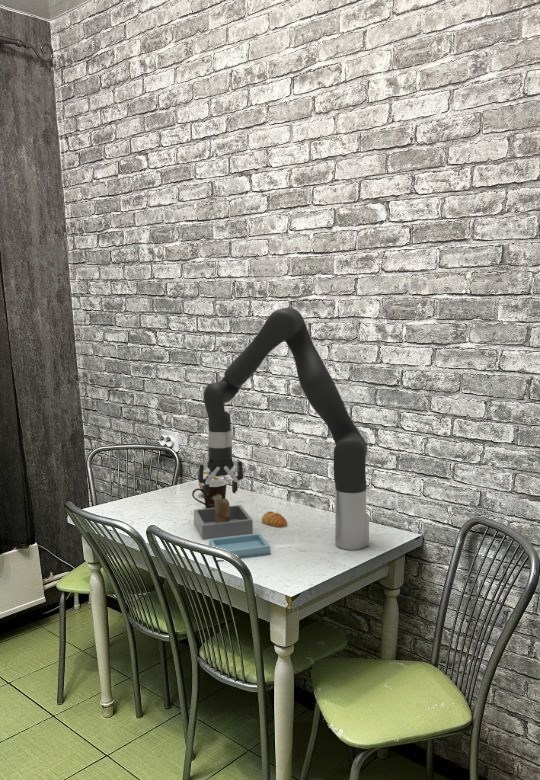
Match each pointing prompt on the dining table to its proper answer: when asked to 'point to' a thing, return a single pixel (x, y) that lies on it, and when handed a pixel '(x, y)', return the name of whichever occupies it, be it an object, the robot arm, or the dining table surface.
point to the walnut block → (222, 511)
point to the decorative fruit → (211, 479)
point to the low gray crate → (223, 523)
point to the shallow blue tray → (243, 545)
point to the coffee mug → (213, 492)
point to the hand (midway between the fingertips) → (221, 493)
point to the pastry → (274, 520)
